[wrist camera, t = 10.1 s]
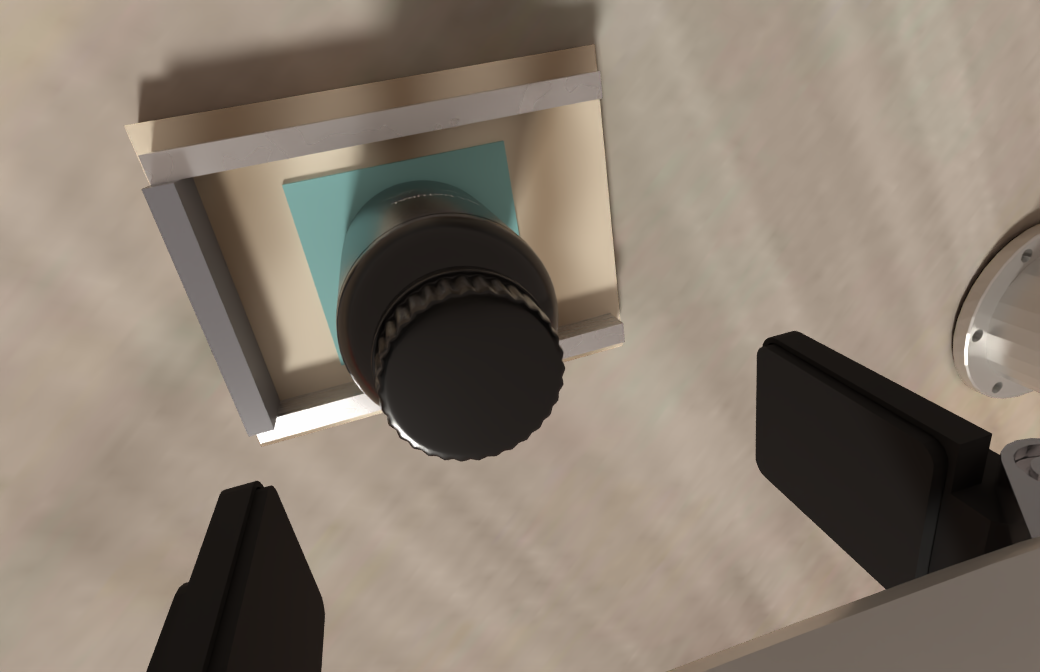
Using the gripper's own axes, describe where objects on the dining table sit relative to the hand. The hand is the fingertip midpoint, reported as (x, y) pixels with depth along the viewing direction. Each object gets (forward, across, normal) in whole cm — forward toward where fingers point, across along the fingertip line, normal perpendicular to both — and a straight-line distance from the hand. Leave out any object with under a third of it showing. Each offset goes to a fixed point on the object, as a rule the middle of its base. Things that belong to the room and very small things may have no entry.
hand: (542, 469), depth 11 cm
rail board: (+18, +1, 0) cm, 18 cm away
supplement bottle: (+16, +1, 0) cm, 16 cm away
